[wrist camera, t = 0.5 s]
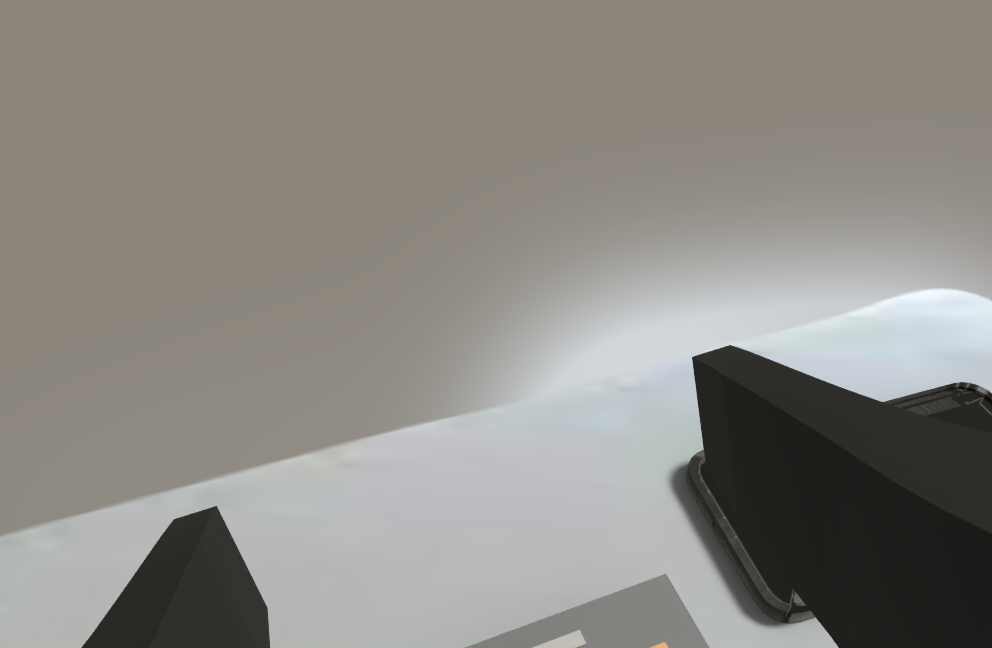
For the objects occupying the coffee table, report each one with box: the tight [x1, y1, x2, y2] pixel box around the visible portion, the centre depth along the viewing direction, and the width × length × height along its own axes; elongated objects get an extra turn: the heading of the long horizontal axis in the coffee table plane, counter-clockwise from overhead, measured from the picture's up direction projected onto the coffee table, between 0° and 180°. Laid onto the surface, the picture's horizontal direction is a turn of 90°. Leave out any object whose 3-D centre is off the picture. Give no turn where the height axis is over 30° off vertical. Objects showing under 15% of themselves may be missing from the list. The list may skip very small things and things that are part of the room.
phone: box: [687, 382, 992, 623], centre depth 33 cm, size 8×1×15 cm
